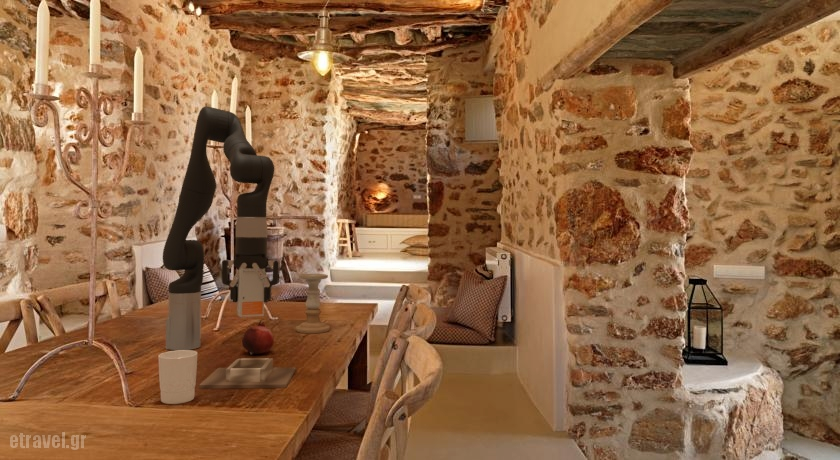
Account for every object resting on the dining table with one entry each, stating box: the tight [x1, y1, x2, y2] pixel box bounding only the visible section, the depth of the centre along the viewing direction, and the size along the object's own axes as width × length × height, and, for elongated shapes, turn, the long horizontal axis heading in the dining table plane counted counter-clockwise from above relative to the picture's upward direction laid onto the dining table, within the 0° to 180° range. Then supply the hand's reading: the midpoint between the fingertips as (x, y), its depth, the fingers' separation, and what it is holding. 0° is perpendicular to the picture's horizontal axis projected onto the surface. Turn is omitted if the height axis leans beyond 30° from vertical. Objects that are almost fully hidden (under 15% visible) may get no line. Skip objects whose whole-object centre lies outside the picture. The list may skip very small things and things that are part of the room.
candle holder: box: [295, 273, 331, 334], centre depth 205 cm, size 12×12×20 cm
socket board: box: [198, 357, 297, 390], centre depth 140 cm, size 20×16×4 cm
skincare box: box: [236, 268, 266, 318], centre depth 140 cm, size 6×4×12 cm
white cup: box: [157, 349, 198, 405], centre depth 124 cm, size 8×8×10 cm
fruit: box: [241, 319, 275, 356], centre depth 168 cm, size 9×10×10 cm
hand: (250, 301), depth 140 cm, fingers closed on skincare box, 7 cm apart
